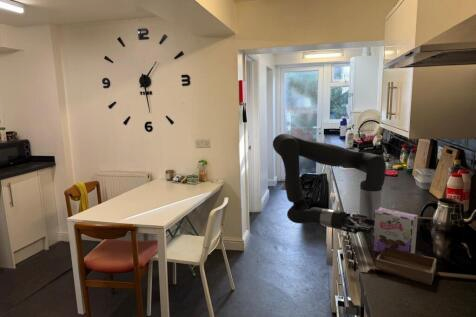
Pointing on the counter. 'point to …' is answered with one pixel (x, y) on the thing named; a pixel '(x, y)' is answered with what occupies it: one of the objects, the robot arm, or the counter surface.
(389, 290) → the counter surface
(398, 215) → the candy box
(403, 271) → the crate
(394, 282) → the counter surface
